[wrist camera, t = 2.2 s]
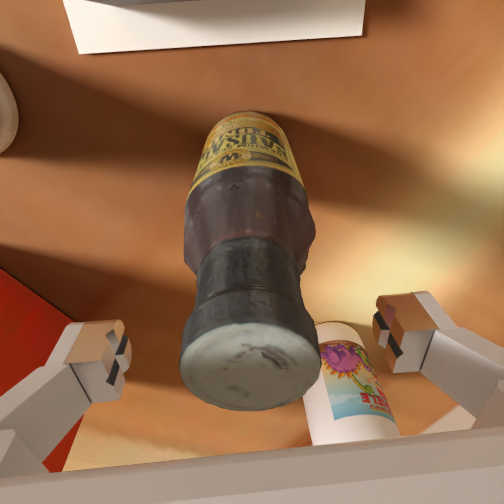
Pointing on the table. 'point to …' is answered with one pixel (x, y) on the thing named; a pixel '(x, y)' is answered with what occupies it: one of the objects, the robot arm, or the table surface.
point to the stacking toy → (7, 115)
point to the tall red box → (30, 346)
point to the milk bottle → (346, 392)
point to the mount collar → (206, 22)
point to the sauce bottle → (248, 270)
